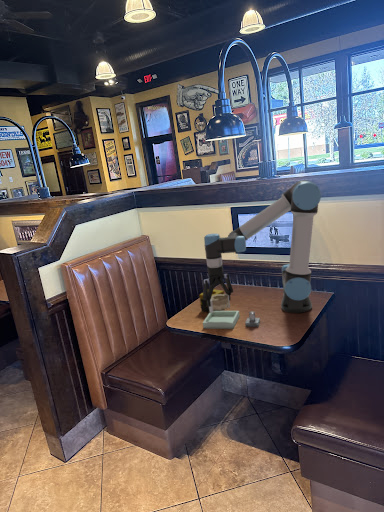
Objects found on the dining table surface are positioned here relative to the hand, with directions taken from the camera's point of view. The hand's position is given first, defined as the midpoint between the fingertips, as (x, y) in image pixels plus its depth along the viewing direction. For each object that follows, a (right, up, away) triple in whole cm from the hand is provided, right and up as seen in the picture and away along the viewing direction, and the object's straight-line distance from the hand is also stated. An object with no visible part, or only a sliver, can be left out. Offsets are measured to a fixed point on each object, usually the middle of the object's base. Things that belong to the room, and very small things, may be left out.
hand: (219, 309), depth 187 cm
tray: (+1, -7, +1) cm, 7 cm away
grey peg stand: (+16, -6, -6) cm, 18 cm away
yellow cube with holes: (-2, -3, +20) cm, 20 cm away
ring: (-1, +1, +1) cm, 2 cm away
